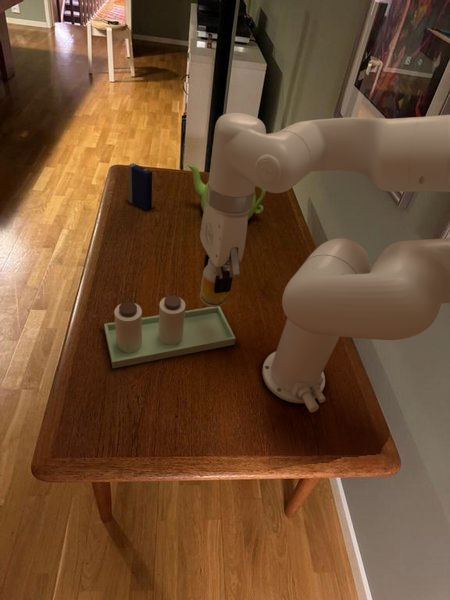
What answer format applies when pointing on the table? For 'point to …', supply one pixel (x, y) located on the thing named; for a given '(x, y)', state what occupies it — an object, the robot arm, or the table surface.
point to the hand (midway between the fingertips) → (216, 280)
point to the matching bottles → (131, 323)
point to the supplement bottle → (212, 286)
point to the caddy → (196, 337)
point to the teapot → (202, 190)
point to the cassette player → (140, 186)
